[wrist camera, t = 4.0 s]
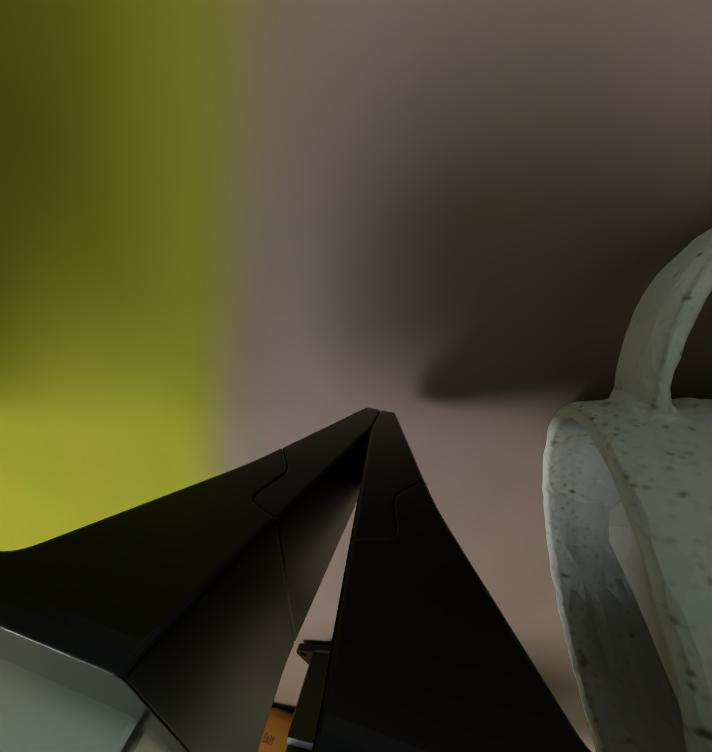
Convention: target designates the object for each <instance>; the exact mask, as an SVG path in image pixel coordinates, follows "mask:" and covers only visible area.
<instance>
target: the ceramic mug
mask: <svg viewBox="0 0 712 752" xmlns="http://www.w3.org/2000/svg"><path fill="white" fill-rule="evenodd" d="M711 291H712V228H711V229H709V230H708V231H706V232H704V233H703V234H701V235H699V236H698V237H696V238H695V239H694V240H693V241H692V242H691V243H690V244H689V245H687V246H686V247H685V248H684V249H683V250H682V251H681V252H680V253H679V254H678V255H677V256H676V257H675V258H674V259H672V260H671V261H670V262H669V263H668V264H667V265H666V266H665V267H664V268H663V269H662V270H661V271H660V272H659V273H658V274H657V275H656V277H655V278H654V279H653V281H652V282H651V283H650V285H649V286H648V287H647V289H646V290H645V292H644V293H643V295H642V297H641V299H640V301H639V303H638V305H637V307H636V309H635V311H634V313H633V316H632V319H631V322H630V324H629V327H628V329H627V332H626V334H625V337H624V341H623V345H622V348H621V352H620V356H619V360H618V363H617V367H616V373H615V385H614V388H613V390H612V392H611V394H610V396H609V398H608V399H604V400H595V401H582V402H573V403H570V404H567V405H564V406H562V407H561V408H559V409H558V411H557V412H556V414H555V415H554V416H553V418H552V419H551V422H550V424H549V427H548V429H547V440H546V447H545V450H544V454H543V485H542V491H543V496H544V499H543V506H544V515H545V526H546V539H547V545H548V551H549V560H550V570H551V576H552V580H553V583H554V588H555V592H556V598H557V606H558V611H559V614H560V618H561V622H562V626H563V629H564V637H565V641H566V644H567V647H568V652H569V657H570V662H571V665H572V668H573V672H574V675H575V678H576V682H577V687H578V691H579V695H580V699H581V703H582V706H583V709H584V713H585V716H586V719H587V722H588V725H589V728H590V732H591V735H592V739H593V743H594V746H595V750H596V752H712V399H696V398H678V399H671V392H670V386H671V382H672V379H673V375H674V371H675V369H676V367H677V365H678V363H679V361H680V359H681V357H682V353H683V349H684V345H685V342H686V339H687V337H688V335H689V333H690V331H691V329H692V327H693V325H694V323H695V321H696V319H697V317H698V315H699V313H700V311H701V309H702V307H703V304H704V302H705V300H706V298H707V297H708V295H709V294H710V292H711Z"/></svg>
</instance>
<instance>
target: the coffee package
mask: <svg viewBox="0 0 712 752" xmlns="http://www.w3.org/2000/svg"><path fill="white" fill-rule="evenodd" d="M293 715H294V713H291V712H288V711H285V710H282V709H279V708H274V707H271V711H270V714H269V717H268V720H267V723H266V727H265V730H264V733H263V736H262V739H261V743H260V746H259V749H258V752H285V751H286V747H287V744H288V743H287V740H286V739H287V734H288V731H289V728H290V724H291V721H292V718H293Z"/></svg>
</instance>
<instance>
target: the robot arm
mask: <svg viewBox="0 0 712 752" xmlns="http://www.w3.org/2000/svg"><path fill="white" fill-rule="evenodd" d="M356 502H357V506H356V511H355V517H354V522H353V528H352V533H351V539H350V544H349V549H348V555H347V560H346V566H345V572H344V577H343V583H342V588H341V594H340V599H339V605H338V610H337V616H336V621H335V627H334V632H333V638H332V643H331V645H318V644H305V643H300V644H299V645H298V648H297V654H298V655H299V656H300V657H301V658H303V659H304V660H305V661H306V662H307V663H308V664H309V666H308V670H307V673H306V676H305V679H304V682H303V686H302V689H301V692H300V695H299V699H298V702H297V705H296V708H295V712H294V715H293V718H292V721H291V724H290V728H289V731H288V734H287V739H286V740H287V743H288V744H287V747H286V751H285V752H591V751H590V750H589V749H588V748H587V747H586V745H585V744H584V742H583V741H582V740H581V738H580V737H579V736H578V734H577V733H576V731H575V730H574V728H573V727H572V725H571V723H570V722H569V720H568V719H567V717H566V715H565V714H564V712H563V711H562V709H561V707H560V706H559V704H558V703H557V701H556V699H555V698H554V696H553V695H552V693H551V691H550V690H549V688H548V687H547V685H546V683H545V682H544V680H543V679H542V677H541V675H540V674H539V672H538V670H537V669H536V667H535V666H534V664H533V662H532V661H531V659H530V658H529V656H528V654H527V653H526V651H525V650H524V648H523V646H522V645H521V643H520V642H519V640H518V638H517V637H516V635H515V634H514V632H513V630H512V629H511V627H510V626H509V624H508V622H507V621H506V619H505V618H504V616H503V614H502V613H501V611H500V610H499V608H498V606H497V605H496V603H495V602H494V600H493V598H492V597H491V595H490V593H489V592H488V590H487V589H486V587H485V585H484V584H483V582H482V581H481V579H480V577H479V576H478V574H477V573H476V571H475V569H474V568H473V566H472V565H471V563H470V561H469V560H468V558H467V557H466V555H465V553H464V552H463V550H462V549H461V547H460V545H459V544H458V542H457V541H456V539H455V537H454V536H453V534H452V533H451V531H450V529H449V528H448V526H447V524H446V523H445V521H444V519H443V518H442V516H441V514H440V512H439V511H438V509H437V507H436V505H435V503H434V501H433V499H432V497H431V495H430V492H429V490H428V488H427V485H426V483H425V482H424V479H423V477H422V475H421V473H420V470H419V468H418V466H417V463H416V461H415V459H414V456H413V454H412V452H411V449H410V447H409V445H408V442H407V440H406V438H405V435H404V433H403V431H402V429H401V426H400V424H399V422H398V419H397V417H396V415H395V413H393V412H388V411H381V412H380V411H379V410H377V409H372V408H365V409H363V410H361V411H358V412H356V413H354V414H352V415H350V416H348V417H346V418H344V419H342V420H340V421H338V422H336V423H334V424H332V425H330V426H328V427H326V428H323V429H321V430H319V431H317V432H315V433H313V434H311V435H309V436H307V437H305V438H303V439H301V440H299V441H297V442H295V443H293V444H291V445H288V446H286V447H284V448H283V450H282V449H279V450H277V451H275V452H273V453H271V454H269V455H267V456H264V457H262V458H260V459H258V460H256V461H253V462H251V463H249V464H246V465H244V466H241V467H239V468H236V469H234V470H231V471H229V472H226V473H223V474H221V475H218V476H216V477H213V478H210V479H208V480H205V481H202V482H200V483H197V484H195V485H192V486H189V487H187V488H184V489H181V490H179V491H176V492H174V493H171V494H168V495H166V496H163V497H161V498H158V499H155V500H153V501H150V502H147V503H145V504H142V505H140V506H137V507H134V508H132V509H129V510H126V511H124V512H121V513H119V514H116V515H113V516H111V517H108V518H105V519H103V520H100V521H98V522H95V523H92V524H90V525H87V526H84V527H82V528H79V529H77V530H74V531H71V532H69V533H66V534H63V535H61V536H58V537H56V538H53V539H50V540H48V541H45V542H43V543H40V544H37V545H34V546H31V547H28V548H24V549H19V550H14V551H0V752H258V749H259V746H260V743H261V739H262V736H263V733H264V730H265V727H266V723H267V720H268V717H269V714H270V711H271V707H272V704H273V701H274V698H275V695H276V691H277V688H278V685H279V682H280V679H281V675H282V672H283V670H284V667H285V664H286V662H287V659H288V656H289V654H290V652H291V649H292V647H293V644H294V641H295V640H296V638H297V636H298V633H299V631H300V629H301V627H302V624H303V622H304V620H305V617H306V615H307V613H308V611H309V608H310V606H311V604H312V602H313V599H314V597H315V595H316V593H317V590H318V588H319V586H320V584H321V581H322V579H323V577H324V574H325V572H326V570H327V568H328V565H329V563H330V561H331V559H332V556H333V554H334V552H335V550H336V547H337V545H338V543H339V541H340V538H341V536H342V534H343V532H344V529H345V527H346V525H347V522H348V520H349V518H350V516H351V513H352V511H353V509H354V507H355V504H356Z"/></svg>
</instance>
